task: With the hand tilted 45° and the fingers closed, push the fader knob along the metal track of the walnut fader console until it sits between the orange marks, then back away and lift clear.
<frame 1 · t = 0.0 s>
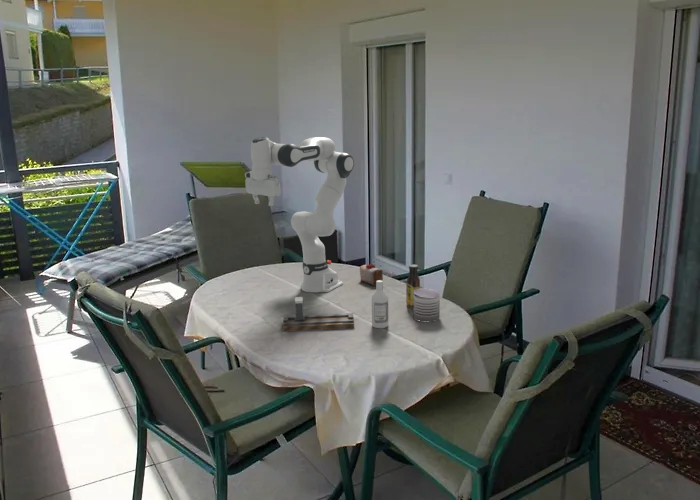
hand: (264, 204, 290), 48 cm above the table, tool pointing down, fingers open, 8 cm apart
fader knob: (299, 309, 273), point 7 cm above the table, slide at 0.0 cm
fader console: (318, 324, 276), on the table
sauce bottle: (413, 306, 295), on the table
bath foam: (380, 326, 272), on the table
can: (426, 318, 280), on the table
food item: (371, 282, 332), on the table
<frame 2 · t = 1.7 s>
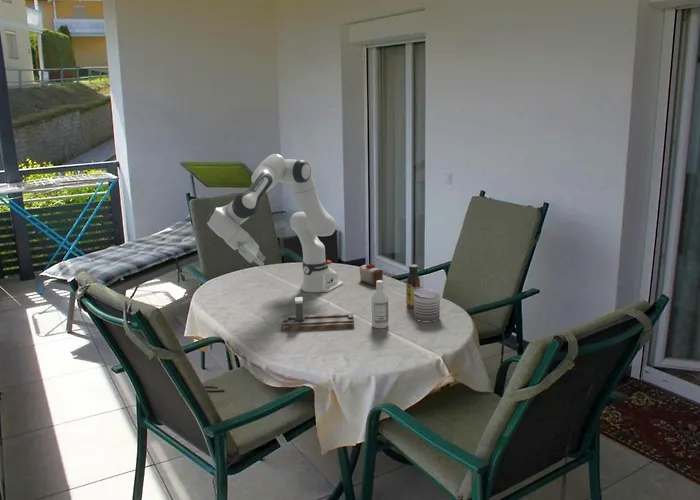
hand: (263, 262, 267), 29 cm above the table, tool tilted 45°, fingers open, 8 cm apart
nothing on the table moved.
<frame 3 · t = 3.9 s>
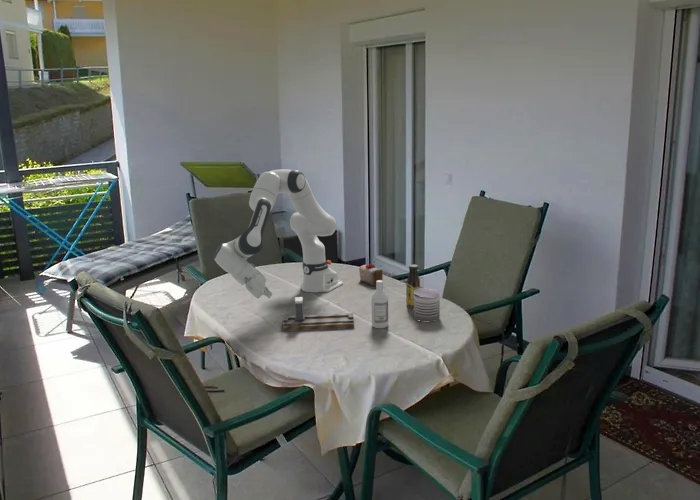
hand: (270, 295, 271), 14 cm above the table, tool tilted 45°, fingers closed
nothing on the table moved.
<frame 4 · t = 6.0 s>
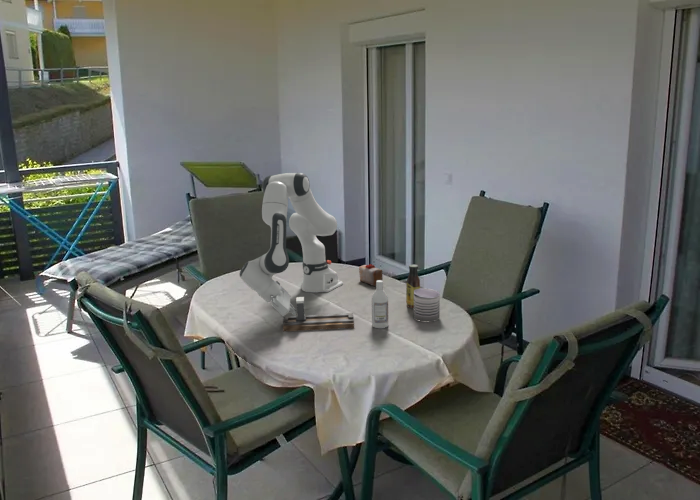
hand: (295, 312, 274), 6 cm above the table, tool tilted 45°, fingers closed, pressing on fader knob
fader knob: (300, 309, 273), point 7 cm above the table, slide at 0.6 cm, touching gripper
everything else where it was.
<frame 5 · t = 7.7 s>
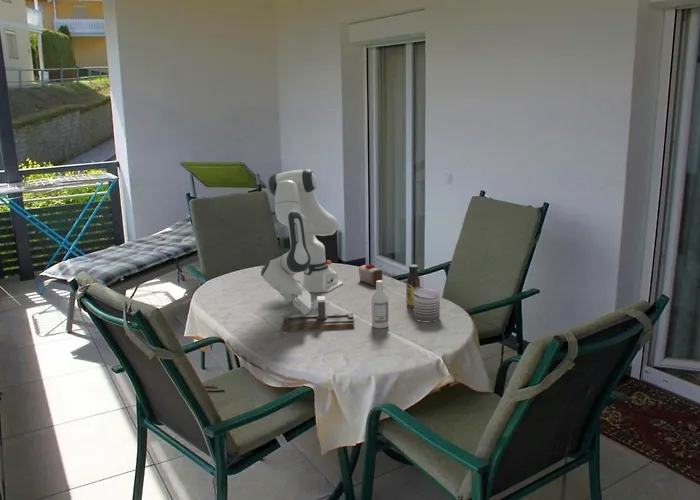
hand: (316, 311, 274), 6 cm above the table, tool tilted 45°, fingers closed, pressing on fader knob
fader knob: (321, 308, 274), point 7 cm above the table, slide at 9.5 cm, touching gripper
everything else where it was.
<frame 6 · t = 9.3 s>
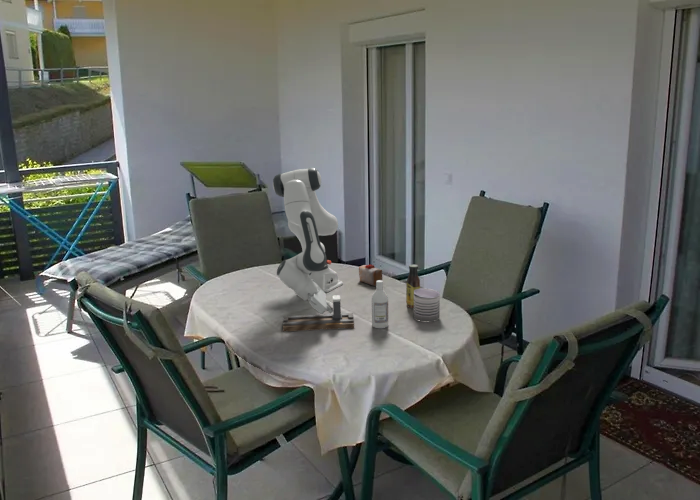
hand: (331, 311, 274), 6 cm above the table, tool tilted 45°, fingers closed, pressing on fader knob
fader knob: (336, 308, 274), point 7 cm above the table, slide at 16.1 cm, touching gripper
everything else where it was.
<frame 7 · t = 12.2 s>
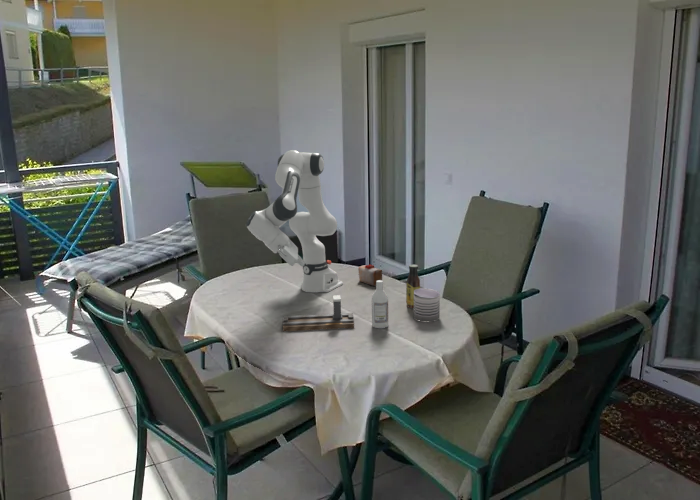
hand: (303, 264, 268), 27 cm above the table, tool tilted 45°, fingers closed
fader knob: (337, 308, 274), point 7 cm above the table, slide at 16.2 cm
everything else where it was.
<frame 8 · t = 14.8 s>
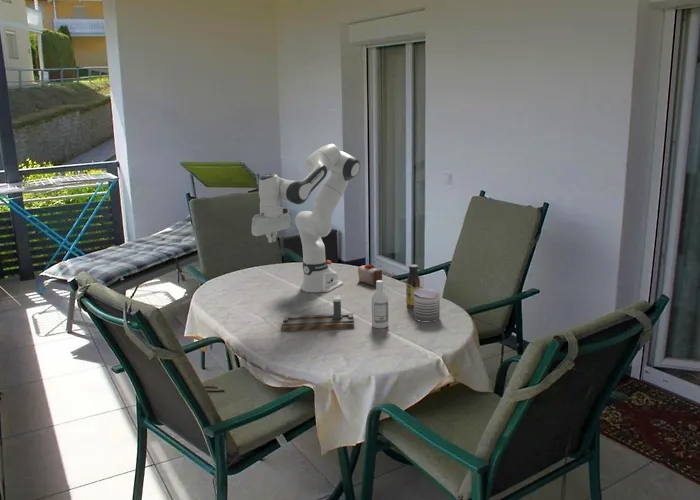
hand: (272, 242, 283), 33 cm above the table, tool pointing down, fingers closed
nothing on the table moved.
at the end: fader knob slide at 16.2 cm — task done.
